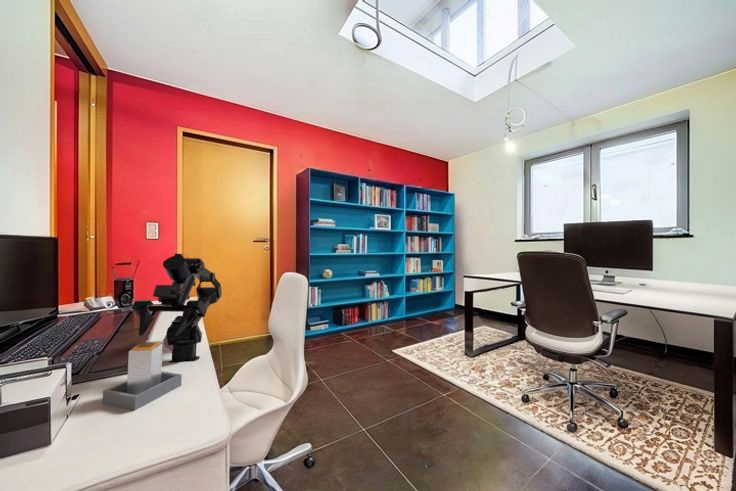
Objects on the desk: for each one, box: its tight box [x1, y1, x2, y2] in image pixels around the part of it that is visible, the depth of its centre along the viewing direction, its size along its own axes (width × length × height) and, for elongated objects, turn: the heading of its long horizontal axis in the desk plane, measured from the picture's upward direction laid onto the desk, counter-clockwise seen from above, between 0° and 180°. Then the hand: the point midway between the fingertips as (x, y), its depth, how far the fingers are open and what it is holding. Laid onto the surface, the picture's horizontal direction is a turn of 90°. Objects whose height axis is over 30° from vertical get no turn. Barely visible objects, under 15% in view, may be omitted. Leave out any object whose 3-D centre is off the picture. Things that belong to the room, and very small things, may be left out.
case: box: [101, 370, 183, 411], centre depth 70 cm, size 12×10×4 cm
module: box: [126, 341, 164, 395], centre depth 70 cm, size 5×5×13 cm
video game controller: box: [162, 335, 173, 351], centre depth 104 cm, size 10×5×7 cm, turn 24°
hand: (158, 335), depth 77 cm, fingers open, 9 cm apart
